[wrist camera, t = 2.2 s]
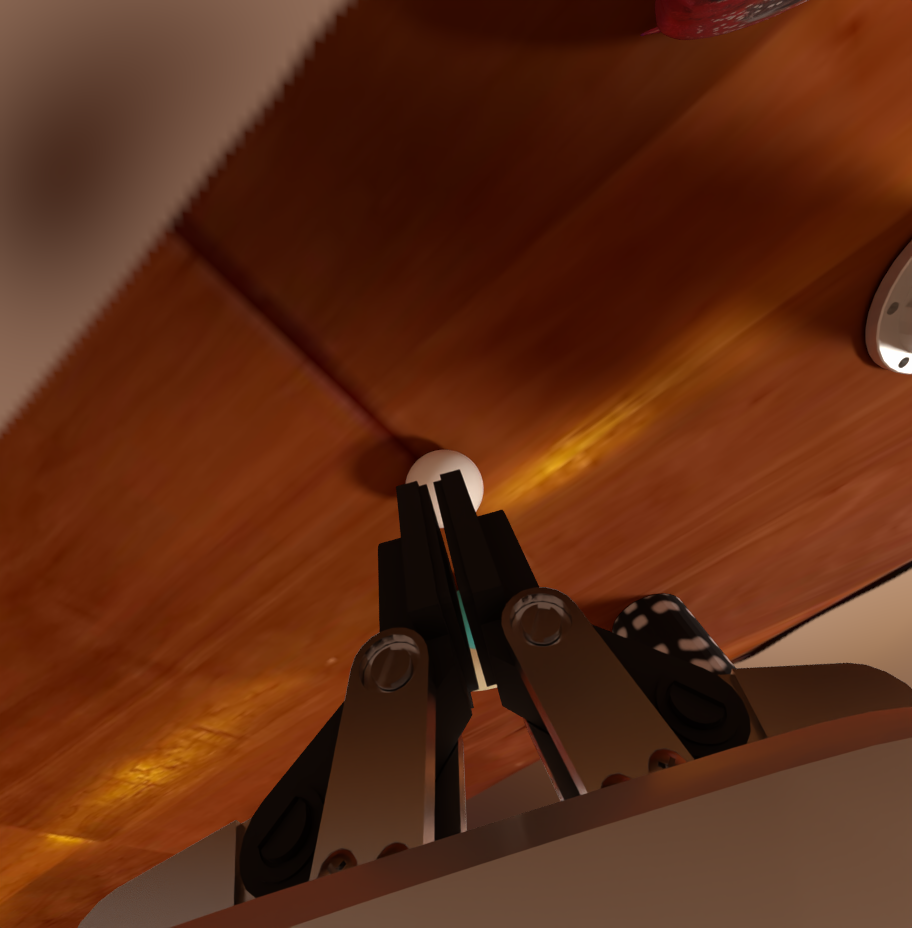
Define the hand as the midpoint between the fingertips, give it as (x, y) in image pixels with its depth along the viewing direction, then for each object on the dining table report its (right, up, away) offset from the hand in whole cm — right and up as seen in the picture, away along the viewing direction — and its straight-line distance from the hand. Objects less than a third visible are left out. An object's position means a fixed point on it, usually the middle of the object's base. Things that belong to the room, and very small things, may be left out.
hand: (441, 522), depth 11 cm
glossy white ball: (0, 0, +18) cm, 18 cm away
